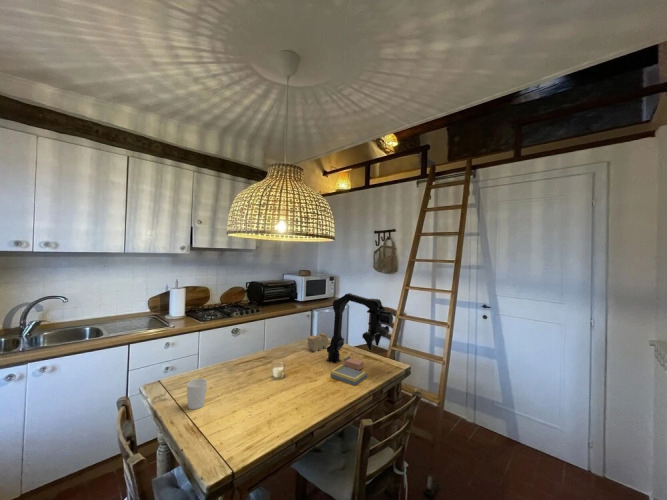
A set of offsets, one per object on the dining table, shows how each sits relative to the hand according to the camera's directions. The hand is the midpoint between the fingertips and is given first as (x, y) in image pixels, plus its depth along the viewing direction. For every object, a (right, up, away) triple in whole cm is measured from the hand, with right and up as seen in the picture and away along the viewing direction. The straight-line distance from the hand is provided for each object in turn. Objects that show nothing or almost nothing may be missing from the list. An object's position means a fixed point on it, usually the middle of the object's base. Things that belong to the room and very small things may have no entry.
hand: (373, 347), depth 163 cm
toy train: (-34, -14, +35) cm, 51 cm away
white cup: (-84, -12, -39) cm, 94 cm away
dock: (-15, -14, -7) cm, 22 cm away
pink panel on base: (-12, -14, +5) cm, 19 cm away
